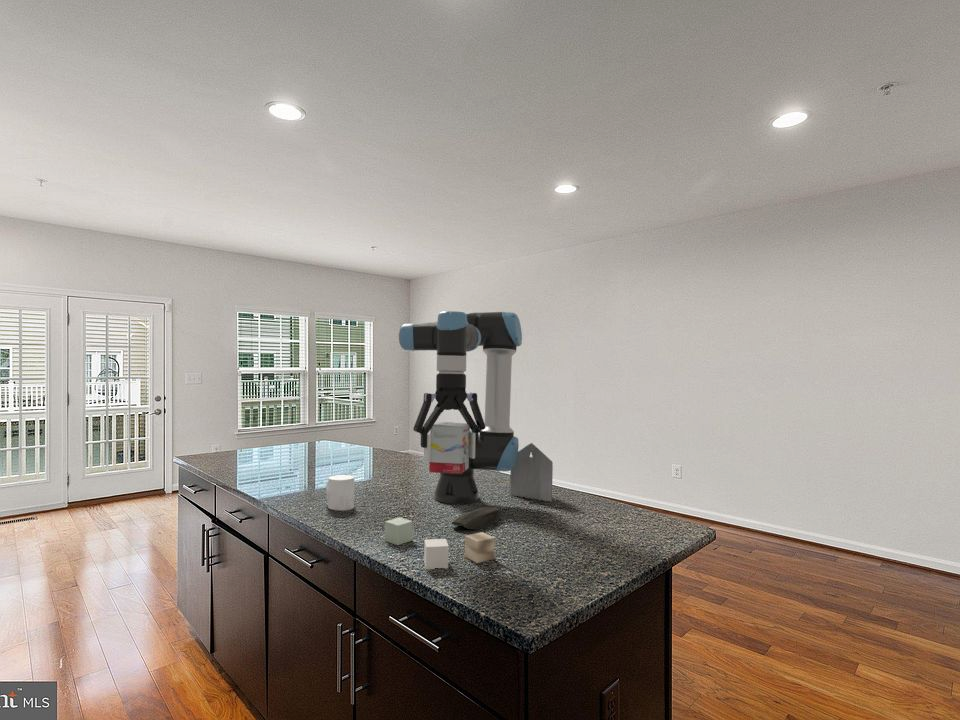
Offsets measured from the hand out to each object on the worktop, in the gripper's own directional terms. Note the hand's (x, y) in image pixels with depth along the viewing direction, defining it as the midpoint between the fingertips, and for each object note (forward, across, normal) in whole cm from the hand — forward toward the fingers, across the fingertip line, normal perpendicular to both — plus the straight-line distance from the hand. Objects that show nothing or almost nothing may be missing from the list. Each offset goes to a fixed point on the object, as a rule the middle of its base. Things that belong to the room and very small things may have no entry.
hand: (449, 459), depth 128 cm
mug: (+22, +18, -48) cm, 56 cm away
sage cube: (+22, +10, -9) cm, 26 cm away
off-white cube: (+22, +7, +10) cm, 25 cm away
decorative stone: (+22, -15, -13) cm, 30 cm away
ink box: (+3, 0, 0) cm, 3 cm away
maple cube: (+22, -4, +10) cm, 24 cm away
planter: (+23, -48, -35) cm, 64 cm away
